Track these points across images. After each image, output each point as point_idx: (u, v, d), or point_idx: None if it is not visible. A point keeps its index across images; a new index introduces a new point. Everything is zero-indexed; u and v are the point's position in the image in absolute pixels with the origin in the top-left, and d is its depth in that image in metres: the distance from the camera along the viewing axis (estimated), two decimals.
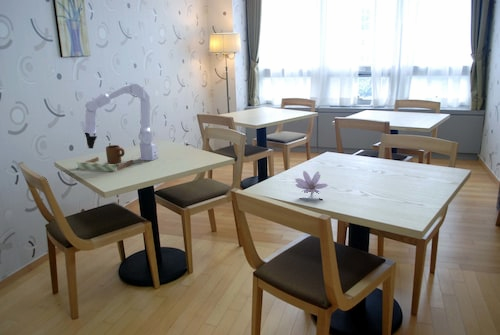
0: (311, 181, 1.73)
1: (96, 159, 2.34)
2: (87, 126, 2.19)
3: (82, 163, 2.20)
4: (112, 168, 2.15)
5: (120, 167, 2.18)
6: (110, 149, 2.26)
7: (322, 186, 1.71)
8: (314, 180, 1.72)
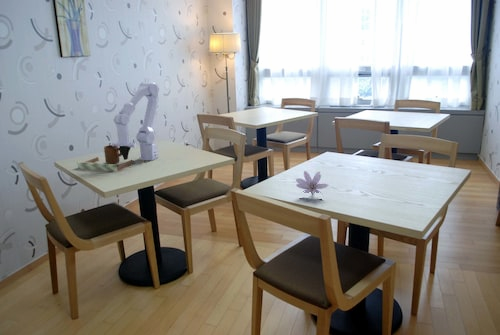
0: None
1: (96, 159, 2.34)
2: (124, 139, 2.21)
3: (82, 163, 2.20)
4: (112, 168, 2.15)
5: (120, 167, 2.18)
6: (108, 149, 2.26)
7: (323, 186, 1.71)
8: (315, 180, 1.71)
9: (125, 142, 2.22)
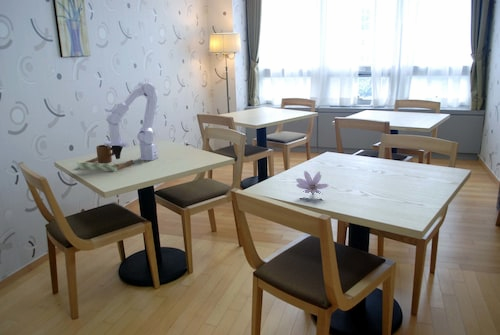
0: None
1: (96, 159, 2.34)
2: (116, 139, 2.23)
3: (82, 163, 2.20)
4: (112, 168, 2.15)
5: (120, 167, 2.18)
6: (100, 148, 2.27)
7: (323, 186, 1.70)
8: (315, 180, 1.71)
9: (117, 142, 2.23)
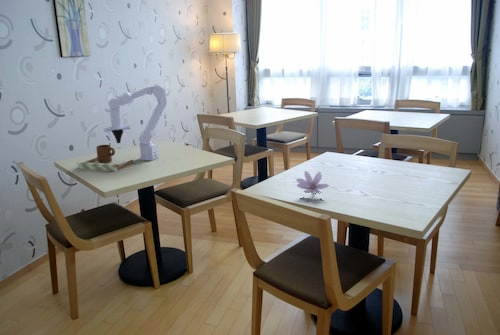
0: (312, 181, 1.72)
1: (96, 159, 2.34)
2: (121, 122, 2.30)
3: (82, 163, 2.20)
4: (112, 168, 2.15)
5: (120, 167, 2.18)
6: (101, 148, 2.27)
7: (323, 186, 1.70)
8: (315, 180, 1.71)
9: (121, 125, 2.30)
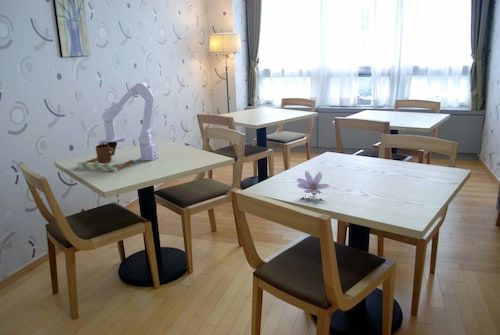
0: (313, 181, 1.72)
1: (96, 159, 2.34)
2: (115, 135, 2.33)
3: (82, 163, 2.20)
4: (112, 168, 2.15)
5: (120, 167, 2.18)
6: (100, 149, 2.27)
7: (324, 186, 1.70)
8: (316, 180, 1.71)
9: (115, 137, 2.34)
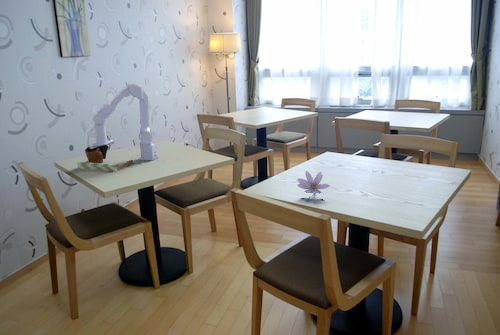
0: (313, 181, 1.72)
1: None
2: (106, 138, 2.26)
3: (82, 163, 2.20)
4: (112, 168, 2.15)
5: (120, 167, 2.18)
6: (88, 153, 2.20)
7: (324, 186, 1.70)
8: (316, 180, 1.71)
9: None
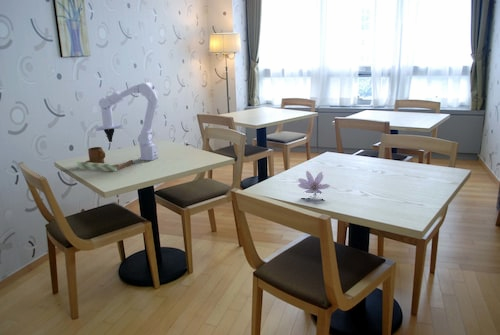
0: (314, 181, 1.72)
1: None
2: (112, 122, 2.33)
3: (82, 163, 2.20)
4: (112, 168, 2.15)
5: (120, 167, 2.18)
6: (91, 151, 2.22)
7: (325, 187, 1.70)
8: (317, 180, 1.71)
9: (112, 124, 2.33)
